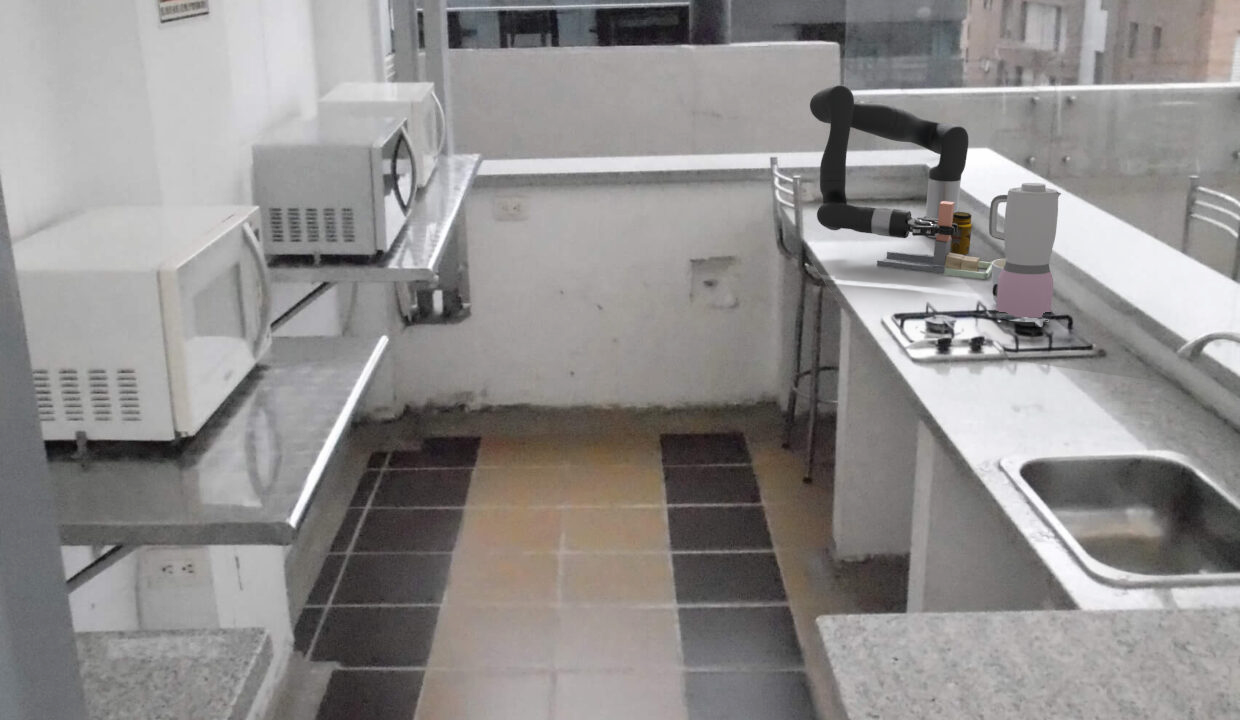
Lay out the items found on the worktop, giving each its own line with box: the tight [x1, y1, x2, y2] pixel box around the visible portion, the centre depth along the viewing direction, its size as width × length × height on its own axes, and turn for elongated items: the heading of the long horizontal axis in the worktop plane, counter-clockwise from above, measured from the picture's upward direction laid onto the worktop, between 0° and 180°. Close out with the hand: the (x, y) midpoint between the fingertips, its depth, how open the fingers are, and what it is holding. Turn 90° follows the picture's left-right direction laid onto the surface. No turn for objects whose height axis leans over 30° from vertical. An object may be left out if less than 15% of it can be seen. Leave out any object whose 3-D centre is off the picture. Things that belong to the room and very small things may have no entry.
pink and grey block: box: [933, 201, 955, 265], centre depth 315 cm, size 6×3×16 cm, turn 154°
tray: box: [943, 260, 993, 280], centre depth 315 cm, size 12×11×2 cm
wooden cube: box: [944, 253, 965, 270], centre depth 316 cm, size 4×4×4 cm
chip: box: [960, 255, 981, 272], centre depth 315 cm, size 4×4×4 cm
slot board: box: [876, 250, 946, 275], centre depth 321 cm, size 12×18×2 cm, turn 64°
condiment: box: [950, 211, 973, 255], centre depth 333 cm, size 7×8×12 cm
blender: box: [988, 182, 1062, 321], centre depth 273 cm, size 16×12×32 cm
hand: (955, 229), depth 314 cm, fingers closed on pink and grey block, 3 cm apart
